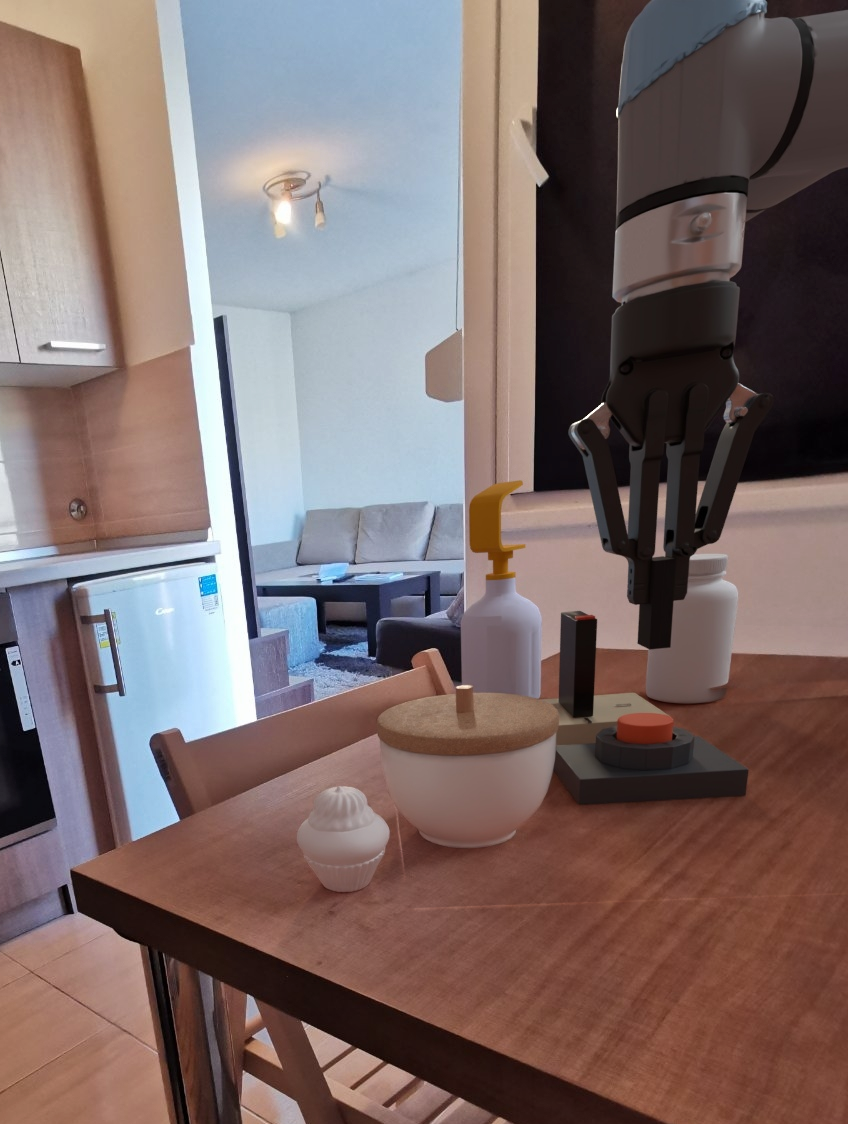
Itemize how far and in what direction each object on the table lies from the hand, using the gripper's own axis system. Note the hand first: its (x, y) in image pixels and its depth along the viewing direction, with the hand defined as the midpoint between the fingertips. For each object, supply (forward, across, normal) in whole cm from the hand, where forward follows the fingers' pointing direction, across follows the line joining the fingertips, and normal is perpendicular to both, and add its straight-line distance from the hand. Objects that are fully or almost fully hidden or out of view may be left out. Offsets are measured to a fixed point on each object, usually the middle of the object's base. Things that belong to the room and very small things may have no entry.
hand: (653, 645), depth 59 cm
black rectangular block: (+8, -2, +13) cm, 15 cm away
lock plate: (+11, -2, +13) cm, 17 cm away
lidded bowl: (+11, -15, -8) cm, 21 cm away
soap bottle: (+11, -6, +31) cm, 34 cm away
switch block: (+11, 0, 0) cm, 11 cm away
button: (+8, 0, 0) cm, 8 cm away
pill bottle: (+12, +13, +26) cm, 31 cm away
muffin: (+11, -24, -16) cm, 31 cm away
